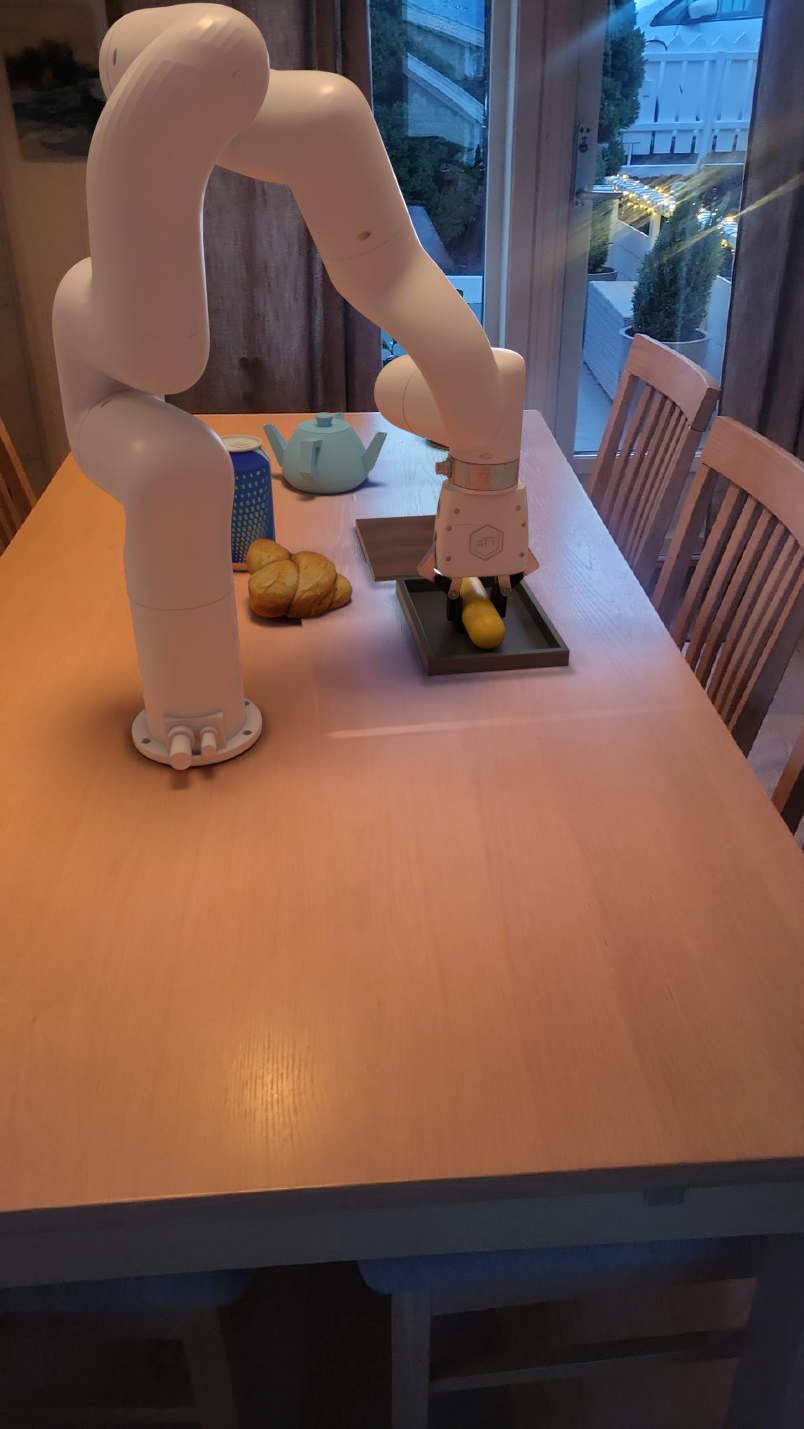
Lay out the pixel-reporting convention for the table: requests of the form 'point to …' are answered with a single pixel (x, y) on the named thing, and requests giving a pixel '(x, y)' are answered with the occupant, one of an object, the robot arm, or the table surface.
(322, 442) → the teapot
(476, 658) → the tray
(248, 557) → the bread roll
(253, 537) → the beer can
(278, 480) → the table surface
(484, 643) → the yellow capsule pill
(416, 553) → the board
